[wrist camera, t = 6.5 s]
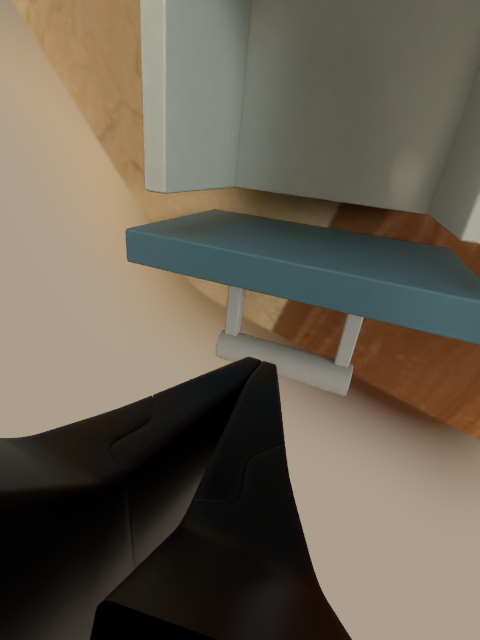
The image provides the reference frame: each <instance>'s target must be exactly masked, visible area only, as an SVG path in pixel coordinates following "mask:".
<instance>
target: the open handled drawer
mask: <svg viewBox="0 0 480 640" xmlns="http://www.w3.org/2000/svg"><path fill="white" fill-rule="evenodd" d="M140 30H141V68H142V105H143V143H144V180H145V190H147V191H152V192H158V193H175V192H187V191H198V190H209V189H220V188H231V187H237V188H244V189H251V190H258V191H264V192H271V193H278V194H285V195H292V196H299V197H306V198H313V199H320V200H327V201H334V202H341V203H348V204H355V205H362V206H369V207H376V208H383V209H390V210H397V211H404V212H411V213H418V214H425V215H429V216H431V217H432V218H433V219H434V220H436V221H437V222H438V223H439V224H441V225H442V226H443V227H444V228H446V229H447V230H448V231H449V232H451V233H452V234H453V235H454V236H456V237H457V238H458V239H459V240H461V241H465V242H471V243H477V244H480V0H140ZM126 247H127V260H128V261H129V262H133V263H137V264H141V265H145V266H149V267H154V268H158V269H162V270H166V271H170V272H175V273H179V274H183V275H187V276H191V277H196V278H200V279H204V280H208V281H213V282H217V283H221V284H225V285H229V291H228V301H227V313H226V323H225V329H224V330H223V331H222V332H221V334H220V335H219V338H218V340H217V344H216V356H217V357H220V358H223V359H226V360H229V361H233V362H235V361H238V360H240V359H243V358H245V357H253V358H256V359H259V360H261V361H266V362H270V363H273V364H276V366H277V374H278V376H281V377H284V378H288V379H291V380H294V381H297V382H301V383H304V384H307V385H310V386H314V387H317V388H320V389H323V390H327V391H330V392H333V393H336V394H339V395H343V396H345V395H346V393H347V391H348V387H349V384H350V381H351V377H352V372H353V364H350V361H351V357H352V354H353V351H354V348H355V344H356V341H357V338H358V335H359V331H360V328H361V325H362V321H363V318H368V319H372V320H377V321H381V322H385V323H389V324H393V325H398V326H402V327H406V328H410V329H415V330H419V331H423V332H427V333H431V334H436V335H440V336H444V337H448V338H452V339H457V340H461V341H465V342H469V343H473V344H478V345H480V280H479V279H478V278H477V277H476V276H475V275H474V273H473V272H472V271H471V270H470V269H469V268H468V267H467V266H466V265H465V264H464V263H463V262H462V261H461V260H460V259H459V258H458V257H457V256H456V255H455V254H454V253H453V252H452V251H451V250H450V249H449V248H443V247H437V246H431V245H425V244H419V243H413V242H407V241H402V240H396V239H390V238H384V237H378V236H372V235H366V234H360V233H354V232H348V231H342V230H336V229H330V228H324V227H318V226H312V225H306V224H300V223H294V222H288V221H282V220H276V219H270V218H264V217H258V216H252V215H246V214H240V213H234V212H228V211H222V210H216V209H215V210H211V211H206V212H202V213H197V214H192V215H188V216H183V217H179V218H174V219H169V220H165V221H160V222H155V223H151V224H146V225H142V226H137V227H132V228H128V229H126ZM245 289H246V290H250V291H255V292H259V293H263V294H267V295H271V296H276V297H280V298H284V299H288V300H292V301H297V302H301V303H305V304H309V305H314V306H318V307H322V308H326V309H330V310H335V311H339V312H343V313H347V317H346V320H345V324H344V328H343V331H342V335H341V338H340V342H339V346H338V349H337V353H336V356H335V359H332V358H329V357H325V356H322V355H318V354H314V353H311V352H307V351H304V350H300V349H297V348H292V347H289V346H286V345H282V344H278V343H275V342H271V341H268V340H264V339H261V338H257V337H254V336H250V335H247V334H243V333H239V332H240V329H241V321H242V312H243V304H244V295H245Z"/></svg>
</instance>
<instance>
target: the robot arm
mask: <svg viewBox="0 0 480 640" xmlns="http://www.w3.org/2000/svg"><path fill="white" fill-rule="evenodd" d="M0 640H352V639H351V637H350V636H349V634H348V633H347V632H346V630H345V628H344V626H343V625H342V623H341V622H340V620H339V619H338V617H337V615H336V614H335V612H334V611H333V609H332V608H331V606H330V604H329V603H328V601H327V600H326V598H325V596H324V594H323V592H322V590H321V588H320V585H319V583H318V580H317V577H316V575H315V572H314V569H313V565H312V562H311V559H310V555H309V551H308V548H307V544H306V541H305V537H304V533H303V529H302V525H301V522H300V519H299V514H298V511H297V507H296V503H295V499H294V495H293V491H292V487H291V482H290V478H289V473H288V466H287V459H286V449H285V441H284V432H283V422H282V412H281V403H280V393H279V383H278V374H277V366H276V364H273V363H270V362H266V361H261V360H259V359H256V358H253V357H245V358H243V359H240V360H238V361H235V362H233V363H231V364H228V365H226V366H224V367H221V368H219V369H216V370H213V371H211V372H209V373H206V374H204V375H201V376H199V377H196V378H194V379H191V380H189V381H186V382H184V383H181V384H179V385H177V386H174V387H172V388H169V389H167V390H164V391H162V392H159V393H157V394H155V395H153V397H152V396H149V397H147V398H144V399H142V400H139V401H137V402H134V403H132V404H129V405H126V406H124V407H121V408H118V409H115V410H112V411H109V412H106V413H103V414H100V415H97V416H94V417H91V418H88V419H85V420H81V421H78V422H75V423H72V424H69V425H65V426H63V427H59V428H56V429H53V430H50V431H46V432H43V433H40V434H36V435H32V436H27V437H21V438H0Z"/></svg>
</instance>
